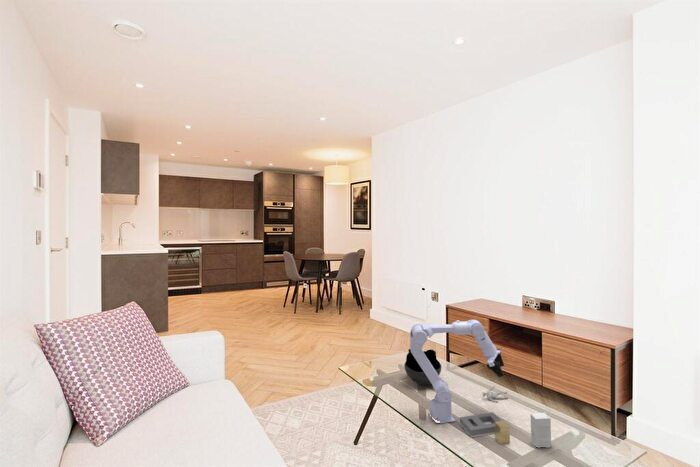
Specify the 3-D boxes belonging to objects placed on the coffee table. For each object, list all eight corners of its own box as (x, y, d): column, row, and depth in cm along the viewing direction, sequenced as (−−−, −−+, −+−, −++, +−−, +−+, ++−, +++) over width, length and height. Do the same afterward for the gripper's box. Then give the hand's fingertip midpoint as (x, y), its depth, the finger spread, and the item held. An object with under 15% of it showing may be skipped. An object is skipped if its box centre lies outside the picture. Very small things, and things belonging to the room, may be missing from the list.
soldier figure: (510, 404, 180) (489, 399, 177) (504, 407, 183) (483, 402, 181) (506, 387, 185) (486, 383, 183) (500, 391, 188) (480, 386, 186)
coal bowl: (445, 390, 193) (444, 355, 192) (407, 392, 193) (406, 357, 192) (437, 374, 213) (436, 342, 212) (402, 375, 213) (401, 343, 212)
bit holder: (471, 437, 153) (471, 430, 153) (459, 423, 163) (459, 417, 163) (506, 431, 156) (506, 424, 156) (492, 418, 166) (492, 412, 166)
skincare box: (545, 440, 149) (545, 412, 148) (551, 447, 145) (551, 418, 144) (530, 441, 149) (530, 413, 148) (536, 448, 144) (535, 419, 144)
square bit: (500, 444, 148) (500, 427, 148) (495, 438, 152) (494, 421, 151) (509, 442, 149) (509, 426, 148) (503, 437, 153) (503, 420, 152)
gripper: (493, 351, 156) (509, 378, 157) (495, 334, 169) (510, 359, 169) (478, 355, 160) (494, 382, 160) (481, 339, 173) (496, 363, 173)
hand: (501, 371), depth 165 cm, fingers open, 7 cm apart
